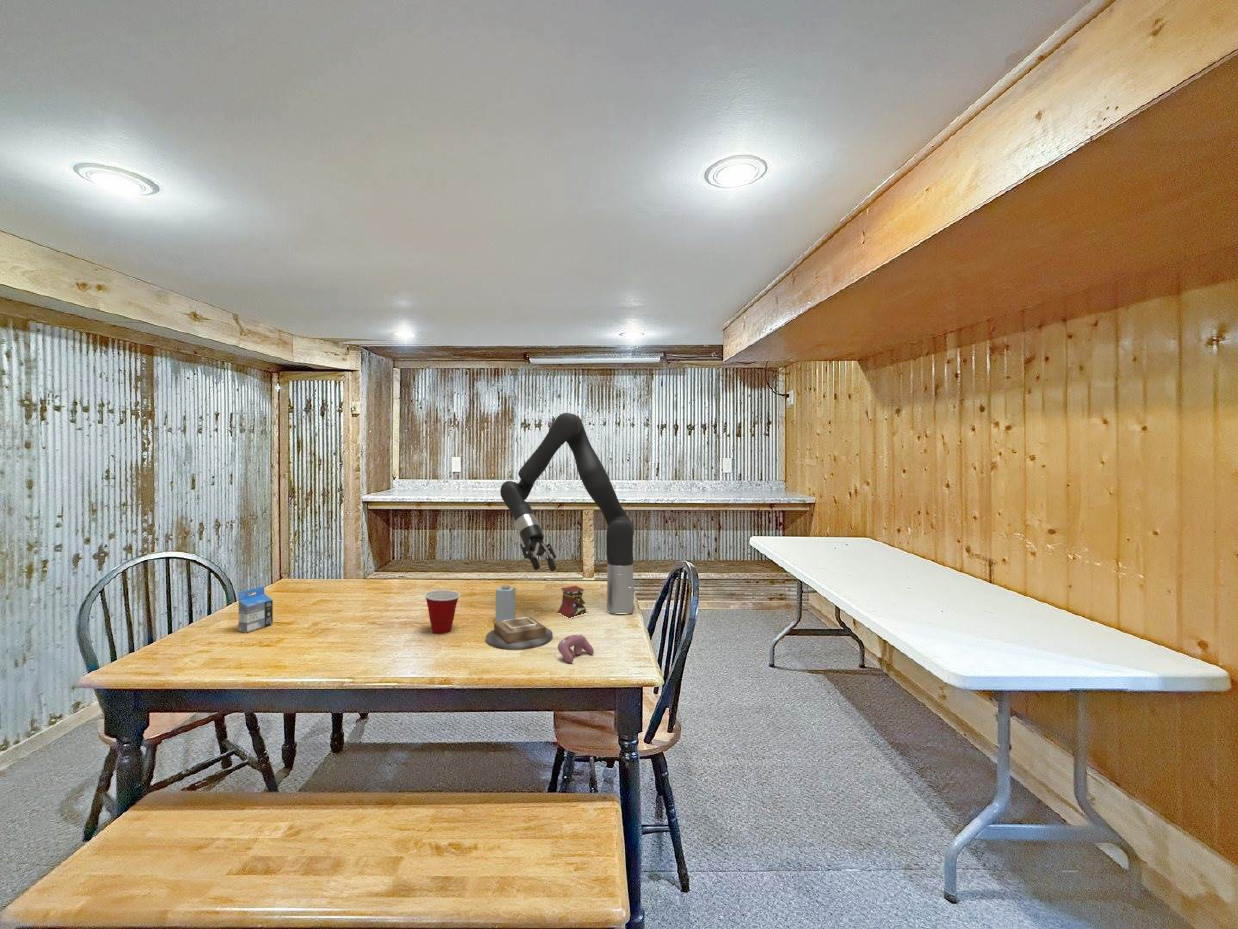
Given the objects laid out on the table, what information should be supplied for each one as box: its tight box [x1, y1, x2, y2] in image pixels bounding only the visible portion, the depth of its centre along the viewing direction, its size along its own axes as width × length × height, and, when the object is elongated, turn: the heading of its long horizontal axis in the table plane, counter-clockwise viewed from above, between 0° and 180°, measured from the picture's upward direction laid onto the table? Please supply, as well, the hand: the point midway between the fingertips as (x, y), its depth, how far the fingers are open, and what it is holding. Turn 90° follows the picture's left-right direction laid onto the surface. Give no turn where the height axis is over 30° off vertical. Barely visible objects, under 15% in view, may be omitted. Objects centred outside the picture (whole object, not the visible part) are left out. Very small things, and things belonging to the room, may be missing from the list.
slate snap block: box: [495, 584, 516, 623], centre depth 185 cm, size 5×5×12 cm
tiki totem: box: [556, 585, 588, 618], centre depth 194 cm, size 9×9×9 cm
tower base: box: [485, 616, 554, 651], centre depth 169 cm, size 20×20×5 cm
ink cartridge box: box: [238, 586, 274, 633], centre depth 176 cm, size 9×4×12 cm, turn 161°
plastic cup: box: [424, 589, 461, 635], centre depth 175 cm, size 11×11×12 cm
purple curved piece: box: [557, 633, 595, 664], centre depth 154 cm, size 10×5×7 cm, turn 141°
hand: (545, 569), depth 187 cm, fingers open, 8 cm apart
